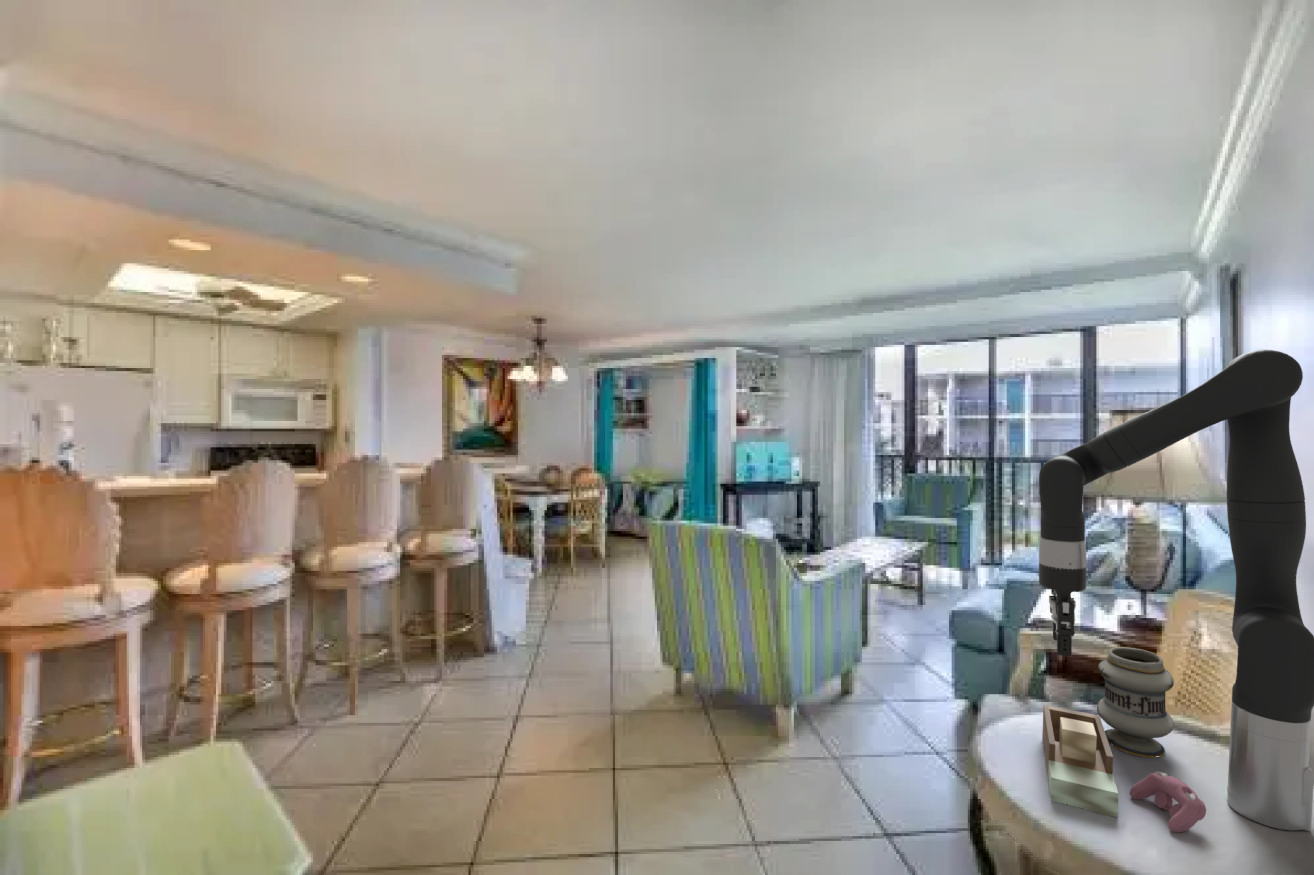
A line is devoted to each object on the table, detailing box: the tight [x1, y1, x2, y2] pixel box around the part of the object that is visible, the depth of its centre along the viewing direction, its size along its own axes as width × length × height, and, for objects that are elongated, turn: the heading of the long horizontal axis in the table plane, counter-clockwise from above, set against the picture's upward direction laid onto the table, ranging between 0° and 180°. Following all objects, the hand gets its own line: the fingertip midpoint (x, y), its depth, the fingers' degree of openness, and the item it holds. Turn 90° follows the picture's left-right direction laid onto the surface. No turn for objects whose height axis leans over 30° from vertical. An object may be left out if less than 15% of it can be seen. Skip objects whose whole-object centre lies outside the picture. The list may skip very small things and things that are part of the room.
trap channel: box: [1041, 704, 1119, 818], centre depth 114 cm, size 9×22×7 cm, turn 152°
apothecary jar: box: [1096, 646, 1175, 758], centre depth 124 cm, size 12×12×18 cm
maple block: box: [1059, 717, 1097, 764], centre depth 114 cm, size 5×5×5 cm
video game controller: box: [1129, 771, 1207, 833], centre depth 103 cm, size 10×5×7 cm, turn 179°
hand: (1061, 647), depth 120 cm, fingers open, 8 cm apart
